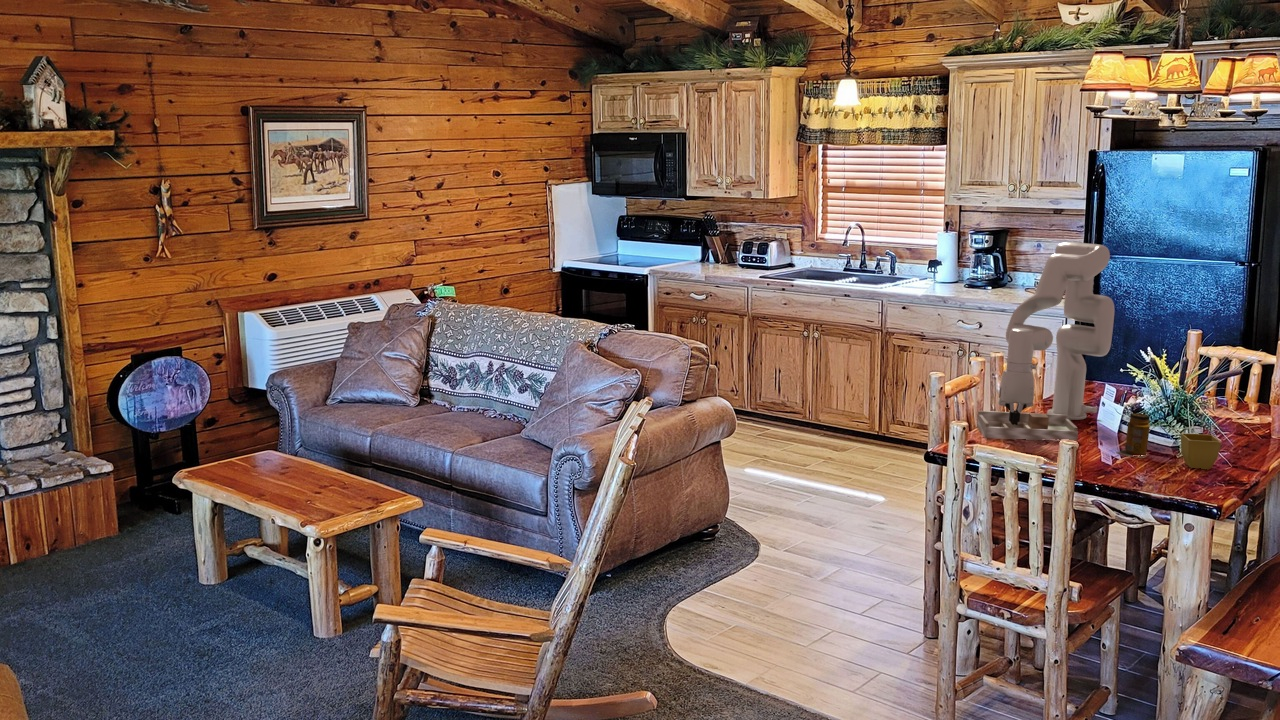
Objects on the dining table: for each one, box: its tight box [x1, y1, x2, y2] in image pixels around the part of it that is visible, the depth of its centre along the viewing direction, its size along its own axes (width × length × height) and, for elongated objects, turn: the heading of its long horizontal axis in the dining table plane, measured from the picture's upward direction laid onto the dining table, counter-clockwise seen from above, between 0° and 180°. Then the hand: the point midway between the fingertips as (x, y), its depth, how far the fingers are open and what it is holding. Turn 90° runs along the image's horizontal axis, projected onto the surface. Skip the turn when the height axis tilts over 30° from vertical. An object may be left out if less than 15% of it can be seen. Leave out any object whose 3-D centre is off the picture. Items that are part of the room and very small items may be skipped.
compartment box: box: [976, 410, 1079, 443], centre depth 358 cm, size 28×14×6 cm, turn 84°
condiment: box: [1116, 412, 1151, 459], centre depth 338 cm, size 7×8×12 cm
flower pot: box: [1180, 432, 1222, 470], centre depth 326 cm, size 9×9×9 cm
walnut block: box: [1028, 412, 1049, 429], centre depth 358 cm, size 5×5×4 cm
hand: (1013, 423), depth 359 cm, fingers closed
